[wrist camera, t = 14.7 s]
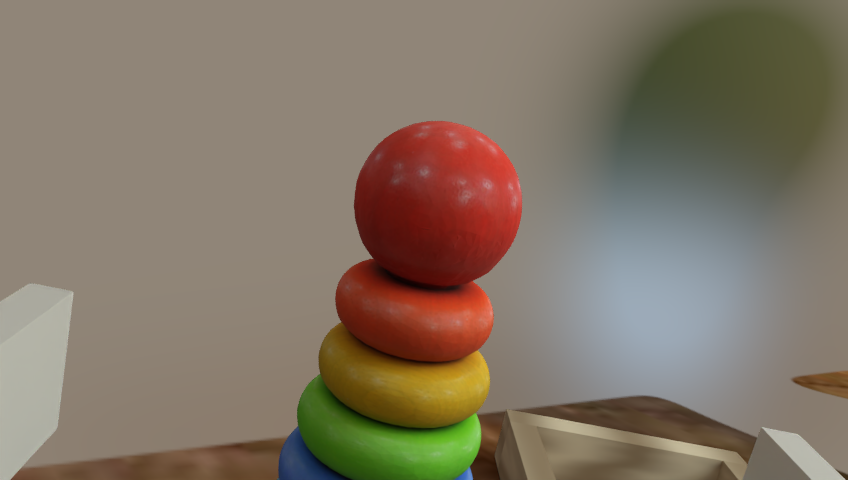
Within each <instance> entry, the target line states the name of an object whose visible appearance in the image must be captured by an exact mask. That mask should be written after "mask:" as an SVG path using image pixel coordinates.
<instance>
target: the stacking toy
mask: <svg viewBox="0 0 848 480" xmlns="http://www.w3.org/2000/svg"><path fill="white" fill-rule="evenodd" d="M354 210H355V219H356V224H357V227H358V230H359V234H360V237H361V240H362V242H363V244H364V246H365V247H366V249H367V250H368V252H369V253H370V255H371V256H372V257H373V258H374V259H369V260H366V261H362V262H360V263H358V264H356V265H354V266H352V267H351V268H350V269H349V270H348V271H347V272H346V273H345V274H344V275H343V276H342V278H341V280H340V281H339V284H338V287H337V290H336V299H335V300H336V309H337V313H338V316H339V318H340V320H341V323H339V324H338V325H336V326H335V327H334V328H333V329H331V330H330V332H329V333H328V334H327V335H326V337H325V339H324V340H323V342H322V345H321V348H320V351H319V369H320V375H318V376H317V377H316V378H314V379H313V380H312V381H311V382H310V383H309V384H308V386H307V387H306V389H305V390H304V392H303V393H302V395H301V398H300V401H299V404H298V409H297V419H298V427H297V428H296V429H295V430H294V431H293V432H292V433H291V434H290V435H289V437H288V439H287V440H286V442H285V444H284V446H283V448H282V450H281V454H280V458H279V478H278V479H277V480H473V477H472V473H471V469H470V465H471V464H472V463H473V461H474V459H475V457H476V456H477V453H478V450H479V447H480V442H481V428H480V423H479V420H478V417H477V415H476V412H477V411H478V410H479V408H480V407H481V406H482V405H483V403H484V401H485V399H486V397H487V395H488V391H489V385H490V376H489V370H488V367H487V364H486V362H485V360H484V358H483V356H482V355H481V354H480V353H479V351H478V349H479V348H480V347H481V346H482V345H483V344H484V343H485V342H486V340H487V339H488V337H489V335H490V333H491V330H492V327H493V320H494V314H493V309H492V305H491V302H490V300H489V298H488V296H487V295H486V293H485V292H484V291H483V290H482V289H481V288H480V287H479V286H478V285H477V284H475V283H474V282H473V280H475V279H477V278H479V277H481V276H483V275H485V274H487V273H488V272H489V271H490V270H491V269H492V268H493V267H494V266H495V265H496V264H497V263H498V262H499V261H500V260H501V258H502V257H503V256H504V255H505V254H506V252H507V251H508V249H509V248H510V246H511V244H512V242H513V241H514V238H515V236H516V233H517V230H518V227H519V224H520V219H521V213H522V195H521V188H520V183H519V179H518V176H517V174H516V171H515V169H514V167H513V165H512V163H511V162H510V160H509V158H508V157H507V156H506V154H505V153H504V152H503V151H502V149H501V148H500V147H499V146H498V145H497V144H496V143H495V142H493V141H492V140H491V139H489V138H488V137H487V136H485V135H484V134H482V133H480V132H479V131H476V130H474V129H472V128H470V127H467V126H464V125H460V124H457V123H452V122H445V121H427V122H421V123H415V124H412V125H409V126H407V127H404V128H402V129H400V130H398V131H396V132H394V133H392V134H391V135H389V136H388V137H386V138H385V139H384V140H383V141H382V142H381V143H379V144H378V145H377V146H376V148H375V149H374V150H373V151H372V153H371V154H370V155H369V157H368V159H367V160H366V162H365V163H364V166H363V167H362V169H361V171H360V174H359V177H358V180H357V183H356V190H355V200H354Z"/></svg>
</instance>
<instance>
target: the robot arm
mask: <svg viewBox="0 0 848 480" xmlns="http://www.w3.org/2000/svg"><path fill="white" fill-rule="evenodd" d="M72 300H73V291H68V290H63V289H58V288H53V287H48V286H43V285H38V284H32V283H30V284H28V285H26V286H25V287H23V288H21V289H20V290H18V291H17V292H15V293H13V294H12V295H10V296H9V297H7V298H5V299H4V300H2V301H1V302H0V480H10V479H11V478H12V477H13V476H14V475H15V474H16V473H17V472H18V471H19V470H20V468H21V467H22V466H23V465H24V464H25V463H26V462H27V461H28V460H29V459H30V458H31V456H32V455H33V454H34V453H35V452H36V451H37V450H38V449H39V448H40V447H41V446H42V444H43V443H44V442H45V441H46V440H47V439H48V438H49V437H50V436H51V435H52V434H53V433H54V431H55V430H56V429H57V426H58V418H59V410H60V401H61V393H62V385H63V376H64V368H65V359H66V351H67V343H68V334H69V325H70V317H71V309H72ZM742 480H845V479H844V478H843V477H842V476H841V475H840V474H839V473H838V472H837V471H836V470H835V469H834V468H833V467H832V466H830V464H829V463H827V462H826V461H825V460H824V459H823V458H822V457H821V456H820V455H819V454H818V453H817V452H816V451H815V450H814V449H813V448H812V447H811V446H810V445H809V444H808V443H807V442H806V441H805V440H804V439H803V438H802V437H801V436H800V435H798V434H794V433H789V432H784V431H778V430H774V429H768V428H763V427H761V430H760V432H759V435H758V438H757V440H756V443H755V446H754V449H753V452H752V454H751V457H750V460H749V463H748V466H747V468H746V471H745V474H744V477H743V479H742Z"/></svg>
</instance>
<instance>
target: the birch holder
mask: <svg viewBox="0 0 848 480" xmlns="http://www.w3.org/2000/svg"><path fill="white" fill-rule="evenodd" d="M495 460H496V464H497V468H498V473H499V477H500V480H742V479H743V477H744V474H745V471H746V468H747V466H748V465H747V464H746V462H745V461H744V460H743V459H742V458H741V457H740V455H739V454H738V453H737V452H732V451H727V450H722V449H716V448H711V447H706V446H700V445H695V444H690V443H684V442H679V441H674V440H668V439H663V438H658V437H652V436H647V435H642V434H636V433H631V432H626V431H620V430H615V429H610V428H604V427H599V426H594V425H588V424H583V423H578V422H572V421H567V420H562V419H556V418H551V417H545V416H540V415H535V414H529V413H524V412H519V411H513V410H508V409H506V413H505V417H504V421H503V425H502V429H501V432H500V436H499V440H498V444H497V448H496V452H495Z"/></svg>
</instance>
